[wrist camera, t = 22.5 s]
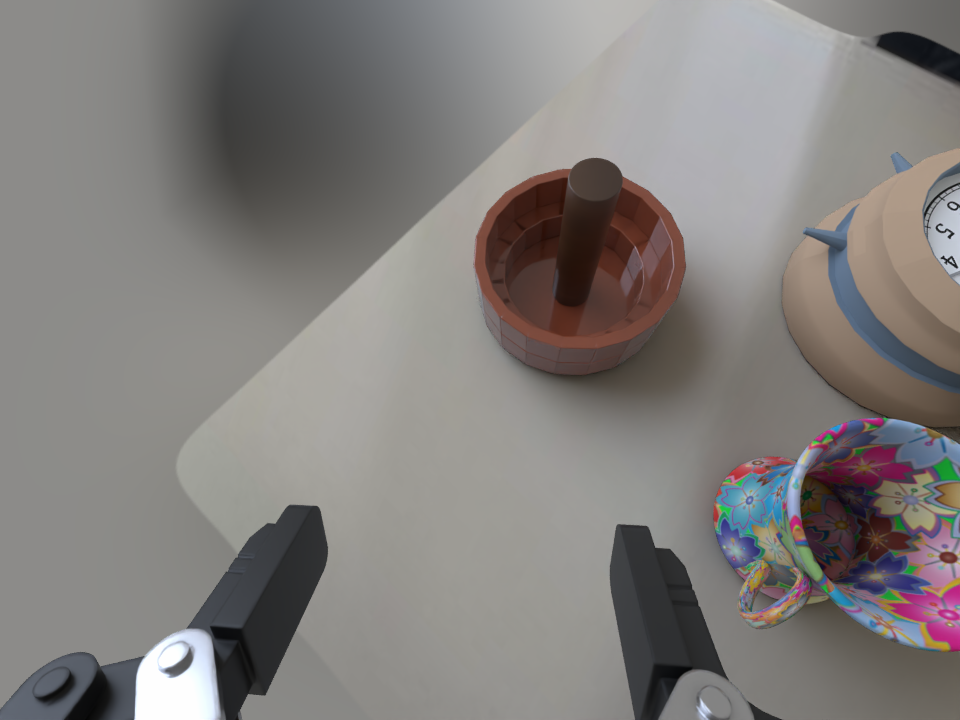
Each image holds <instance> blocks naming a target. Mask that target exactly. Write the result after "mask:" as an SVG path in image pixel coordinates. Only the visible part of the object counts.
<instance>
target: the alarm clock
mask: <svg viewBox="0 0 960 720" xmlns="http://www.w3.org/2000/svg"><path fill="white" fill-rule="evenodd" d="M891 158H892V161H893V164H894V167H895V169H896V172H897V174H896V175H894V176H893V177H891V178H889V179H888V180H886V181H885V182H883V183H881V184H880V185H878V186H877V187H875V188H873V189H872V190H871V191H870V192H869V193H868V195H867V196H866V197H863V198H859V199H856V200H853V201H851V202H850V203H848V204H846V205H845V206H843V207H841V208H840V209H838V210H836V211H835V212H833V213H832V214H830V215H828V216H827V217H825V218H824V219H823V220H822V221H821V222H820V223H819V224H818V225H817V226H816V227H815V228H807V227H806V228H805V229H804V231H803V233H804V234H806V235H807V237H806V238H805V239H804V240H803V241H802V242H801V244H800V245H799V246H798V247H797V248H796V250H795V251H794V252H793V253H792V255H791V257H790V260H789V262H788V265H787V268H786V270H785V273H784V275H783V287H782V306H783V310H784V314H785V317H786V321H787V325H788V328H789V332H790V333H791V335H792V337H793V339H794V340H795V342H796V344H797V345H798V347H799V349H800V351H801V352H802V354H803V356H804V357H805V359H806V360H807V361H808V362H809V363H810V364H811V365H812V366H813V367H814V368H815V369H816V371H817V372H818V373H819V374H820V375H821V376H822V377H823V378H824V379H825V380H826V381H827V382H828V383H829V384H830V385H832V386H833V387H834V388H836V389H837V390H839V391H840V392H842V393H843V394H845V395H846V396H847V397H849V398H850V399H852V400H853V401H855V402H856V403H858V404H859V405H861V406H864V407H866V408H868V409H871V410H873V411H875V412H878V413H880V414H882V415H885V416H887V417H889V418H892V419H896V420H901V421H907V422H911V423H914V424H919V425H924V426H929V427H956V426H960V148H958V149H954V150H951V151H947V152H944V153H940V154H937V155H934V156H930V157H928V158H926V159H925V160H923V161H922V162H920V163H918V164H917V165H915V166H912V165H911V164H910V163H908V162H907V161H906V160H905V159H904V158H903V157H902V156H901V155H900V154H899V153H898V152H896V153H894V154H892V155H891Z"/></svg>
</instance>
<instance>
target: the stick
mask: <svg viewBox="0 0 960 720" xmlns="http://www.w3.org/2000/svg"><path fill="white" fill-rule="evenodd" d="M622 184H623V177H622V173H621V171H620V170H619V168H618V167H617V166H616V165H615V164H613V163H612V162H610V161H608V160H605V159H601V158H589V159H585V160H583V161H580V162H579V163H577V164H576V165H575V166H574V167H573V168H572V169H571V171H570V173H569V176H568V182H567V189H566V196H565V203H564V210H563V217H562V224H561V231H560V238H559V245H558V252H557V259H556V266H555V272H554V279H553V286H552V292H553V296H554V297H555V299H556V300H557V301H558V302H559V303H561V304H563V305H565V306H577V305H580V304H582V303H583V302H584V301H585V300H586V299H587V298H588V296H589V293H590V290H591V286H592V283H593V280H594V276H595V273H596V270H597V267H598V263H599V260H600V257H601V253H602V250H603V247H604V244H605V240H606V237H607V234H608V230H609V227H610V224H611V221H612V217H613V214H614V211H615V207H616V204H617V201H618V198H619V194H620V191H621V188H622Z"/></svg>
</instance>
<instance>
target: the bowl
mask: <svg viewBox="0 0 960 720" xmlns="http://www.w3.org/2000/svg"><path fill="white" fill-rule="evenodd" d="M570 171H571V169H560V170H556V171H552V172H548V173H544V174H541V175H537V176H533V177H531V178H529V179H527V180H526V181H524V182H522V183H520V184H519V185H517V186H515V187H514V188H512V189H510V190H508V191H507V192H505V194H504V195H503V196H502V197H501V198H500V199H499V200H498V201H497V202H496V203H495V204H494V205H493V206H492V207H491V208H490V210H489V211H488V212H487V214H486V216H485V218H484V220H483V222H482V224H481V227H480V229H479V231H478V233H477V235H476V239H475V252H474V271H475V277H476V283H477V289H478V295H479V301H480V305H481V308H482V311H483V315H484V318H485V322H486V325H487V327H488V328H489V329H490V331H491V332H492V334H493V335H494V336H495V338H496V339H497V341H498V342H499V343H500V345H501V346H502V347H503V348H504V349H505V350H507V351H508V352H510V353H511V354H512V355H514V356H515V357H516V358H518V359H519V360H520V361H522V362H523V363H525V364H527V365H529V366H532V367H535V368H538V369H541V370H544V371H547V372H550V373H553V374H554V373H555V374H565V375H588V374H591V373H595V372H599V371H602V370H606V369H610V368H613V367H616V366H617V365H619V364H620V363H622V362H623V361H625V360H626V359H628V358H629V357H631V356H633V355H634V354H636V353H637V352H638V351H639V350H640V349H641V348H642V346H643V345H644V344H645V342H646V341H647V340H648V339H649V337H650V336H651V335H652V333H653V332H654V331H655V329H656V328H657V326H658V325H659V323H660V322H661V321H662V319H663V318H664V316H665V315H666V313H667V312H668V310H669V309H670V308H671V306H672V305H673V303H674V302H675V300H676V299H677V297H678V295H679V291H680V288H681V284H682V281H683V277H684V274H685V270H686V262H685V252H684V242H683V237H682V235H681V233H680V231H679V229H678V227H677V225H676V223H675V221H674V219H673V217H672V215H671V213H670V212H669V211H668V210H667V209H666V208H665V207H664V206H663V205H662V204H661V203H660V202H659V201H658V200H657V199H656V198H655V197H654V196H653V195H652V194H651V193H650V192H649V191H648V190H646V189H644V188H643V187H641V186H639V185H637V184H635V183H634V182H632V181H630V180H628V179H626V178H625V177H623V184H622V188H621V191H620V194H619V198H618V201H617V204H616V207H615V211H614V214H613V217H612V221H611V224H610V227H609V230H608V234H607V237H606V240H605V244H604V247H603V250H602V253H601V257H600V260H599V263H598V267H597V270H596V273H595V276H594V280H593V283H592V286H591V290H590V293H589V296H588V298H587V299H586V300H585V301H584V302H583V303H582V304H580V305H577V306H565V305H563V304H561V303H559V302H558V301H557V300H556V299H555V297H554V296H553V292H552V286H553V279H554V272H555V266H556V259H557V252H558V245H559V238H560V231H561V224H562V217H563V210H564V203H565V196H566V189H567V182H568V176H569V173H570Z"/></svg>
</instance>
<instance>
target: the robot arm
mask: <svg viewBox="0 0 960 720" xmlns="http://www.w3.org/2000/svg"><path fill="white" fill-rule="evenodd" d="M327 556H328V546H327V541H326V536H325V531H324V526H323V521H322V516H321V511H320V509H319V507H318V506H306V505H289V506H288V507H287V508H286V509H285V510H284V512H283V513H282V515H281V516H280V518H279V519H278V521H277V522H276V524H271V523H267V524H266V525H265V526H264V527H262V528H261V529H260V530H259V531H257V532H256V533H255V534H254V535H252V536H251V537H250V538H249V540H248V541H247V543H246V544H245V545H244V547H243V548H242V550H241V551H240V553H239V554H238V558H235V560H234V562H233V563H232V564H231V566H230V567H229V570H228V572H226V573H225V574H224V576H223V577H222V579H221V580H220V582H219V583H218V585H217V586H216V587H215V589H214V590H213V592H212V593H211V595H210V596H209V597H208V599H207V600H206V602H205V603H204V605H203V606H202V607H201V609H200V611H199V612H198V613H197V615H196V616H195V618H194V619H193V621H192V622H191V623H190V625H189V626H188V627H187V628H186V629H185V630H181V631H178V632H175V633H173V634H171V635H169V636H168V637H166V638H165V639H163V640H162V641H160V642H159V643H158V644H156V645H155V646H154V647H153V648H152V649H151V650H150V651H149V652H148V653H147V654H146V656H143V657H139V658H135V659H131V660H126V661H122V662H118V663H113V664H109V665H105V666H101V667H100V665H99V664H98V662H97V660H96V658H95V657H94V656H93V655H91V654H89V653H85V652H77V653H72V654H68V655H65V656H62V657H60V658H57V659H55V660H53V661H51V662H50V663H48V664H46V665H45V666H43V667H42V668H40V669H39V670H38V671H36V672H35V673H34V674H32V675H31V676H30V677H29V678H28V679H27V680H26V681H25V682H24V683H23V684H22V685H21V686H20V687H19V689H18V690H17V691H16V692H15V693H14V694H13V696H12V697H11V698H10V699H9V700H8V701H7V702H6V704H5V705H4V706H3V707H2V708H1V709H0V720H242V717H241V713H240V709H241V707H242V705H243V703H244V701H245V699H246V697H247V695H248V694H254V695H266V693H267V691H268V689H269V686H270V684H271V682H272V680H273V678H274V676H275V674H276V672H277V669H278V667H279V665H280V663H281V661H282V659H283V657H284V655H285V652H286V650H287V648H288V646H289V644H290V642H291V639H292V637H293V635H294V633H295V631H296V629H297V627H298V625H299V623H300V620H301V618H302V616H303V614H304V612H305V610H306V608H307V605H308V603H309V601H310V599H311V597H312V595H313V593H314V591H315V588H316V586H317V584H318V582H319V580H320V578H321V576H322V573H323V571H324V569H325V566H326V562H327ZM610 586H611V593H612V598H613V604H614V609H615V614H616V620H617V625H618V630H619V636H620V641H621V646H622V651H623V657H624V662H625V667H626V673H627V678H628V683H629V689H630V694H631V699H632V705H633V710H634V715H635V720H782V719H779V718H777V717H774V716H772V715H770V714H767V713H765V712H763V711H761V710H760V709H758V708H757V707H755V706H754V705H752V704H751V703H749V702H748V701H747V700H746V699H745V697H744V696H743V694H742V693H741V692H740V691H739V690H738V688H736V687H735V686H734V685H733V684H732V683H731V682H730V681H729V680H728V678H727V676H726V675H725V672H724V670H723V668H722V665H721V662H720V660H719V657H718V654H717V652H716V649H715V646H714V644H713V641H712V638H711V635H710V633H709V630H708V627H707V625H706V622H705V619H704V617H703V614H702V611H701V609H700V607H699V606H698V600H697V598H696V595H695V592H694V590H692V584H691V582H690V579H689V576H688V574H687V571H686V568H685V566H684V565H683V564H682V562H681V561H680V560H679V559H678V558H677V557H676V555H675V554H674V553H673V552H672V551H671V549H664V548H655V546H654V543H653V539H652V536H651V533H650V530H649V528H648V527H647V526H639V525H621V524H618V525H617V526H616V531H615V538H614V544H613V551H612V557H611V564H610Z"/></svg>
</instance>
